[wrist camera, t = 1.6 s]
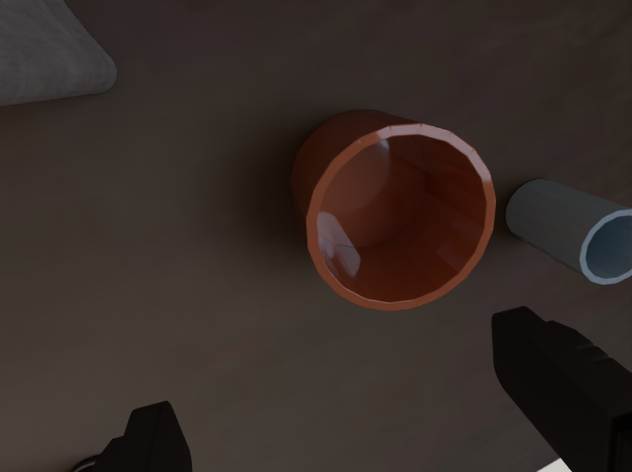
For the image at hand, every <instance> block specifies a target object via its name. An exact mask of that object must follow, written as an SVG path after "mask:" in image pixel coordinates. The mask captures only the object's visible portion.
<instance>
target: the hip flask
mask: <svg viewBox="0 0 632 472" xmlns="http://www.w3.org/2000/svg"><path fill="white" fill-rule="evenodd" d="M116 78H117V70H116V66H115V63H114V61H113V60H112V58H111V57H110V56H109V55H108V54H107V53H106V52H105V51H104V49H103V48H102V47H101V46H100V45H99V44H98V43H97V42H96V41H95V40H94V39H93V37H92V36H91V35H90V34H89V33H88V32H87V30H86V29H85V28H84V27H83V26H82V24H81V23H80V22H79V21H78V19H77V18H76V17H75V15H74V14H73V13H72V12H71V10H70V9H69V8H68V6H67V5H66V4H65V2H64V1H63V0H0V107H1V106H8V105H15V104H23V103H30V102H37V101H45V100H52V99H60V98H67V97H74V96H82V95H89V94H97V93H102V92H106V91H108V90H109V89H110V88H112V86H113V85H114V83H115V81H116Z"/></svg>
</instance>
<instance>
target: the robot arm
mask: <svg viewBox="0 0 632 472" xmlns="http://www.w3.org/2000/svg"><path fill="white" fill-rule="evenodd" d="M492 342H493V362H494V369H495V372H496V375H497V378H498V380H499V382H500V384H501V386H502V387H503V389H504V390H505V391H506V393H507V394H508V395H509V396H510V397H511V399H512V400H513V401H514V402H515V403H516V405H517V406H518V407H519V408H520V409H521V411H522V412H523V413H524V414H525V416H526V417H527V418H528V419H529V420H530V422H531V423H532V424H533V425H534V426H535V428H536V429H537V430H538V431H539V432H540V434H541V435H542V436H543V437H544V439H545V440H546V441H547V442H548V443H549V445H550V446H551V447H552V448H553V449H554V451H555V452H556V453H557V454H558V455H559V457H560V458H561V459H562V460H563V462H564V463H565V464H566V465H567V466H568V468H569V469H570V470H571V471H572V472H632V373H631V372H630V371H628V370H627V369H626V368H624V367H623V366H622V365H621V364H619V363H618V362H617V361H615V360H614V359H613V358H609V357H608V354H606V353H605V352H604V351H602V350H601V349H600V348H598V347H597V346H594V345H593V343H592V342H591V341H589V340H588V339H587V338H585V337H584V336H583V335H582V334H580V333H579V332H578V331H576V330H575V329H572V328H570V327H567V326H565V325H563V324H560V323H558V322H555V321H553V320H552V321H548V322H545V321H544V320H542V319H541V318H540V317H539V316H538V315H536V314H535V313H534V312H533V311H532V310H530V309H529V308H528V307H525V306H521V307H517V308H513V309H510V310H506V311H502V312H498V313H495V314H493V316H492ZM70 472H192V460H191V454H190V450H189V447H188V445H187V442H186V440H185V438H184V435H183V433H182V430H181V428H180V425H179V423H178V420H177V418H176V415H175V413H174V411H173V408H172V406H171V404H170V403H169V402H168V401H164V402H160V403H156V404H152V405H148V406H145V407H141V408H137V409H134V410H133V411H132V412H131V415H130V418H129V421H128V424H127V427H126V430H125V433H124V436H121V437H118V438H114V439H112V440H111V441H110V443H109V444H108V445H107V447H106V448H105V449H104V450H103V452H102V453H101V454H100V456H97V457H93V458H90V459H88V460H86V461H84V462H82V463H80V464H79V465H77V466H76V467H75V468H73V469H72V470H71V471H70Z"/></svg>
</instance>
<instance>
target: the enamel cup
mask: <svg viewBox="0 0 632 472" xmlns="http://www.w3.org/2000/svg"><path fill="white" fill-rule="evenodd" d="M506 223H507V226H508V228H509V230H510V231H511V232H512V233H513V234H514V235H515V236H517V237H518V238H519V239H521V240H523V241H524V242H526V243H528V244H529V245H531V246H533V247H534V248H536V249H538V250H539V251H541V252H543V253H544V254H546V255H548V256H549V257H551V258H553V259H554V260H556V261H558V262H559V263H561V264H563V265H564V266H566V267H568V268H569V269H571V270H573V271H574V272H576V273H578V274H580V275H581V276H583V277H585V278H586V279H588V280H590V281H592V282H595V283H598V284H601V285H605V284H613V283H618V282H620V281H622V280H624V279H626V278H628V277H630V276H631V275H632V209H631V208H628V207H626V206H623V205H620V204H617V203H614V202H611V201H608V200H605V199H602V198H600V197H597V196H594V195H591V194H588V193H585V192H582V191H579V190H577V189H574V188H571V187H568V186H565V185H562V184H559V183H556V182H554V181H551V180H547V179H537V180H533V181H530V182H527V183H526V184H524V185H522V186H521V187H520V188H519V189H518V190H517V191H516V192H515V193H514V194H513V195H512V197H511V199H510V200H509V203H508V205H507V208H506Z"/></svg>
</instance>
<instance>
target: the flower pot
mask: <svg viewBox="0 0 632 472" xmlns="http://www.w3.org/2000/svg"><path fill="white" fill-rule="evenodd" d="M290 196H291V204H292V207H293V210H294V213H295V216H296V218H297V221H298V224H299V227H300V229H301V232H302V235H303V237H304V240H305V243H306V246H307V248H308V251H309V253H310V256H311V258H312V260H313V263H314V265H315V267H316V270H317V272H318V274H319V275H320V277H321V278H322V279H323V280H324V281H325V282H326V283H327V284H328V285H329V286H330V287H331V288H332V289H333V290H334V292H335V293H336V294H338V295H339V296H341V297H343V298H345V299H347V300H349V301H351V302H353V303H355V304H356V305H358V306H360V307H365V308H371V309H377V310H383V311H394V310H402V309H410V308H415V307H418V306H421V305H423V304H426V303H428V302H430V301H433V300H435V299H438V298H440V297H441V296H443V295H445V294H446V293H447V292H448V291H450V290H451V289H452V288H454V287H455V286H456V285H458V284H459V283H460V282H461V281H463V280H464V279H465V278H466V277H467V276H468V274H469V273H470V272H471V270H472V269H473V268H474V267H475V265H476V264H477V263H478V261H479V260H480V259H481V257H482V255H483V253H484V251H485V248H486V246H487V243H488V241H489V239H490V236H491V234H492V231H493V228H494V218H495V208H496V197H495V192H494V188H493V183H492V179H491V174H490V172H489V170H488V169H487V167H486V165H485V164H484V162H483V161H482V159H481V158H480V156H479V154H478V153H477V151H476V150H475V149H474V148H473V147H472V146H471V145H469V144H468V143H467V142H465V141H464V140H463V139H461V138H460V137H458V136H457V135H456V134H454V133H453V132H451V131H449V130H446V129H442V128H438V127H435V126H431V125H428V124H424V123H421V122H417V121H413V120H410V119H406V118H402V117H399V116H395V115H391V114H388V113H384V112H381V111H377V110H356V111H350V112H346V113H343V114H340V115H337V116H335V117H333V118H331V119H329V120H328V121H326V122H324V123H323V124H321V125H320V126H319V127H318V128H316V129H315V130H314V131H313V132H312V133H311V134H310V135H309V136H308V137H307V139H306V140H305V141H304V143H303V144H302V146H301V147H300V149H299V151H298V153H297V155H296V157H295V160H294V162H293V166H292V170H291V175H290Z"/></svg>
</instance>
